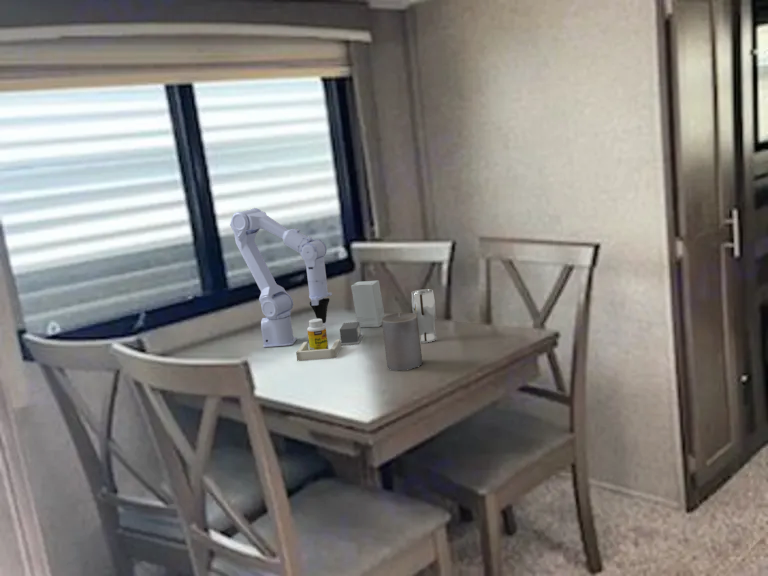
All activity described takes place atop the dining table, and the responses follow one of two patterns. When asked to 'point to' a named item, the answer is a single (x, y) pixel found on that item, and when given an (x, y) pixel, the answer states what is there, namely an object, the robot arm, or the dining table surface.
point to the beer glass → (425, 314)
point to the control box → (350, 334)
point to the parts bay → (318, 352)
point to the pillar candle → (402, 341)
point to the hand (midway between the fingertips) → (322, 322)
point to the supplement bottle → (317, 335)
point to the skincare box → (368, 303)
